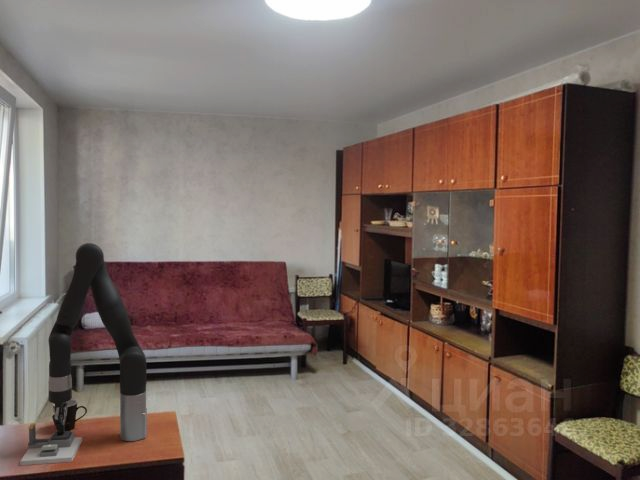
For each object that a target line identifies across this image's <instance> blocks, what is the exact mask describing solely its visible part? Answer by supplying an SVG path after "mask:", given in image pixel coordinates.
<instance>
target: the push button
mask: <svg viewBox="0 0 640 480" xmlns="http://www.w3.org/2000/svg"><path fill="white" fill-rule="evenodd" d="M71 432H72V430H70V431H65V432H64V434H63V435H57V431H55V432H53V433H54V435H53V436H52V441H53V440H67V439H69V437H70V436H71Z"/></svg>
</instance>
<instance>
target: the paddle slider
mask: <svg viewBox="0 0 640 480" xmlns="http://www.w3.org/2000/svg"><path fill="white" fill-rule="evenodd" d="M30 423H31V422H30ZM36 424H37V423H34V422H33V423H31V424H29V426H28V439H29V440H28V444H27V446H28V447H29V445H31V444H36V443H37V439H38V438H36V434H37V433H36Z"/></svg>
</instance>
